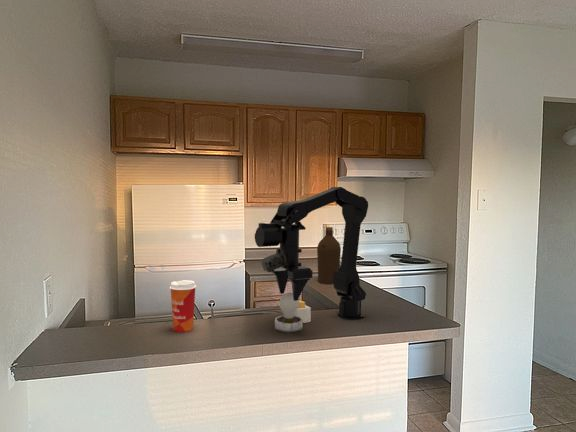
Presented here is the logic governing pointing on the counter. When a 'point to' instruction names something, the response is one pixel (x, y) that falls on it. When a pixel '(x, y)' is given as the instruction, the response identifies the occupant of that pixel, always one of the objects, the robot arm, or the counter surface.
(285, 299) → the light bulb
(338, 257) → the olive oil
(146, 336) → the counter surface
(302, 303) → the breaker button
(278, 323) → the grey round shallow bowl
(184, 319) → the paper cup
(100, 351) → the counter surface
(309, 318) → the white jar
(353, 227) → the robot arm
